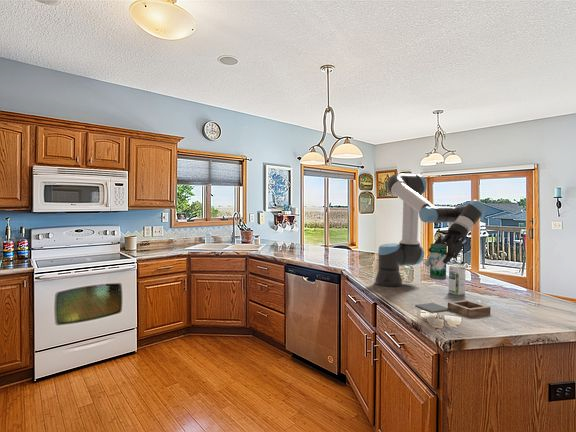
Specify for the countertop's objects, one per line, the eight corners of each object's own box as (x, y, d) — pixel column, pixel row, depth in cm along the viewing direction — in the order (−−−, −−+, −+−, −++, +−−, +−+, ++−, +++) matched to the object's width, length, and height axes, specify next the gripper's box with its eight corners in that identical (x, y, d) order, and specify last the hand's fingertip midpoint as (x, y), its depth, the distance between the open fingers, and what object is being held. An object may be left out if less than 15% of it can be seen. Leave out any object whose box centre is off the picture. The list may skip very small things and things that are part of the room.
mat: (415, 306, 148) (415, 304, 148) (432, 304, 151) (432, 302, 151) (432, 312, 138) (432, 311, 138) (450, 310, 142) (450, 308, 142)
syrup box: (447, 292, 172) (448, 265, 172) (456, 291, 174) (456, 264, 174) (456, 295, 167) (457, 267, 167) (465, 294, 169) (466, 266, 169)
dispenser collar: (447, 309, 144) (447, 302, 143) (467, 306, 147) (467, 299, 147) (470, 317, 133) (470, 309, 133) (490, 314, 137) (490, 307, 137)
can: (428, 278, 144) (428, 244, 143) (433, 276, 148) (434, 243, 148) (442, 280, 139) (443, 245, 139) (447, 278, 144) (448, 244, 143)
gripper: (484, 236, 140) (454, 276, 134) (447, 232, 158) (420, 268, 152) (475, 223, 138) (445, 264, 132) (439, 221, 156) (411, 257, 150)
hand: (431, 266), depth 142 cm, fingers closed on can, 6 cm apart
